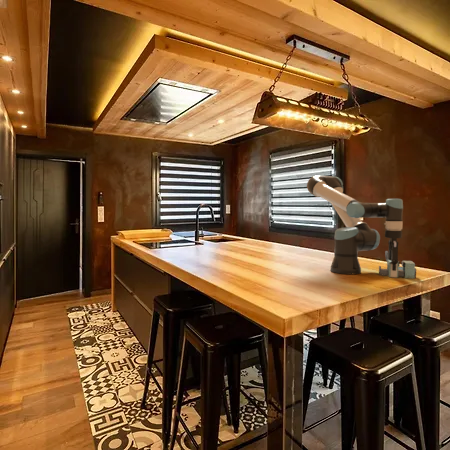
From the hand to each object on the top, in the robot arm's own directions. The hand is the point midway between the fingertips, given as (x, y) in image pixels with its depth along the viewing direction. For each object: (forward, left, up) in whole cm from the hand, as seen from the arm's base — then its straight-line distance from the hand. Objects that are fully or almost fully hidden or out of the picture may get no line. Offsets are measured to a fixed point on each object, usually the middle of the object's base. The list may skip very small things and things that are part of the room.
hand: (392, 275), depth 160 cm
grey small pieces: (+6, +15, -1) cm, 16 cm away
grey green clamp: (+2, 0, 0) cm, 2 cm away
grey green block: (0, 0, 0) cm, 0 cm away
